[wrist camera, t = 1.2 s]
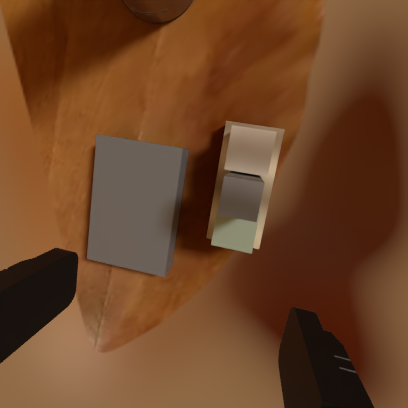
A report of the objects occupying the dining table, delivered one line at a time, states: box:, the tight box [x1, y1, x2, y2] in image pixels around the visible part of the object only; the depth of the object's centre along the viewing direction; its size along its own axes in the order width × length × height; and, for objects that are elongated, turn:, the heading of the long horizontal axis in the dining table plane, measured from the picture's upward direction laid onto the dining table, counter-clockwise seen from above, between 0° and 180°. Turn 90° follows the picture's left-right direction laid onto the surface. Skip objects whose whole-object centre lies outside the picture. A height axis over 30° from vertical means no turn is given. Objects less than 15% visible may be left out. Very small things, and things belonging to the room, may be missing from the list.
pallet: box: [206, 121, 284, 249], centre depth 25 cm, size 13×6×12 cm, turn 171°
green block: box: [211, 205, 260, 253], centre depth 27 cm, size 4×4×4 cm
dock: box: [87, 134, 189, 277], centre depth 32 cm, size 15×10×3 cm, turn 171°
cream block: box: [224, 125, 277, 177], centre depth 26 cm, size 4×4×4 cm
